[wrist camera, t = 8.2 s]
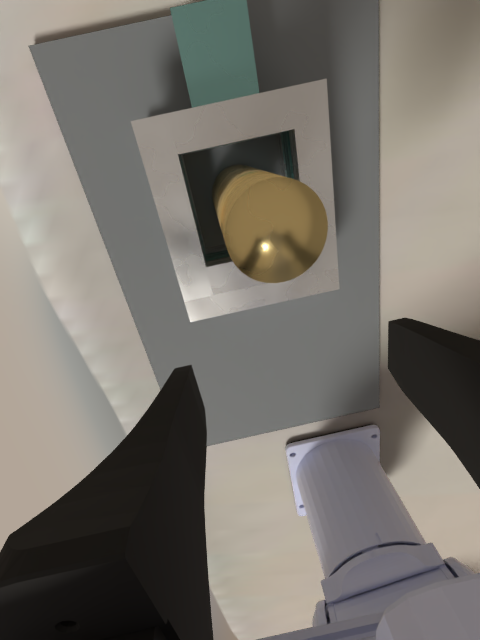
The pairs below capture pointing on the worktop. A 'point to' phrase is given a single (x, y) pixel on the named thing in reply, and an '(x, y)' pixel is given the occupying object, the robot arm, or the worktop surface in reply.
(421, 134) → the worktop surface
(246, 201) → the pin
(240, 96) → the grey teal hollow block
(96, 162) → the mat
